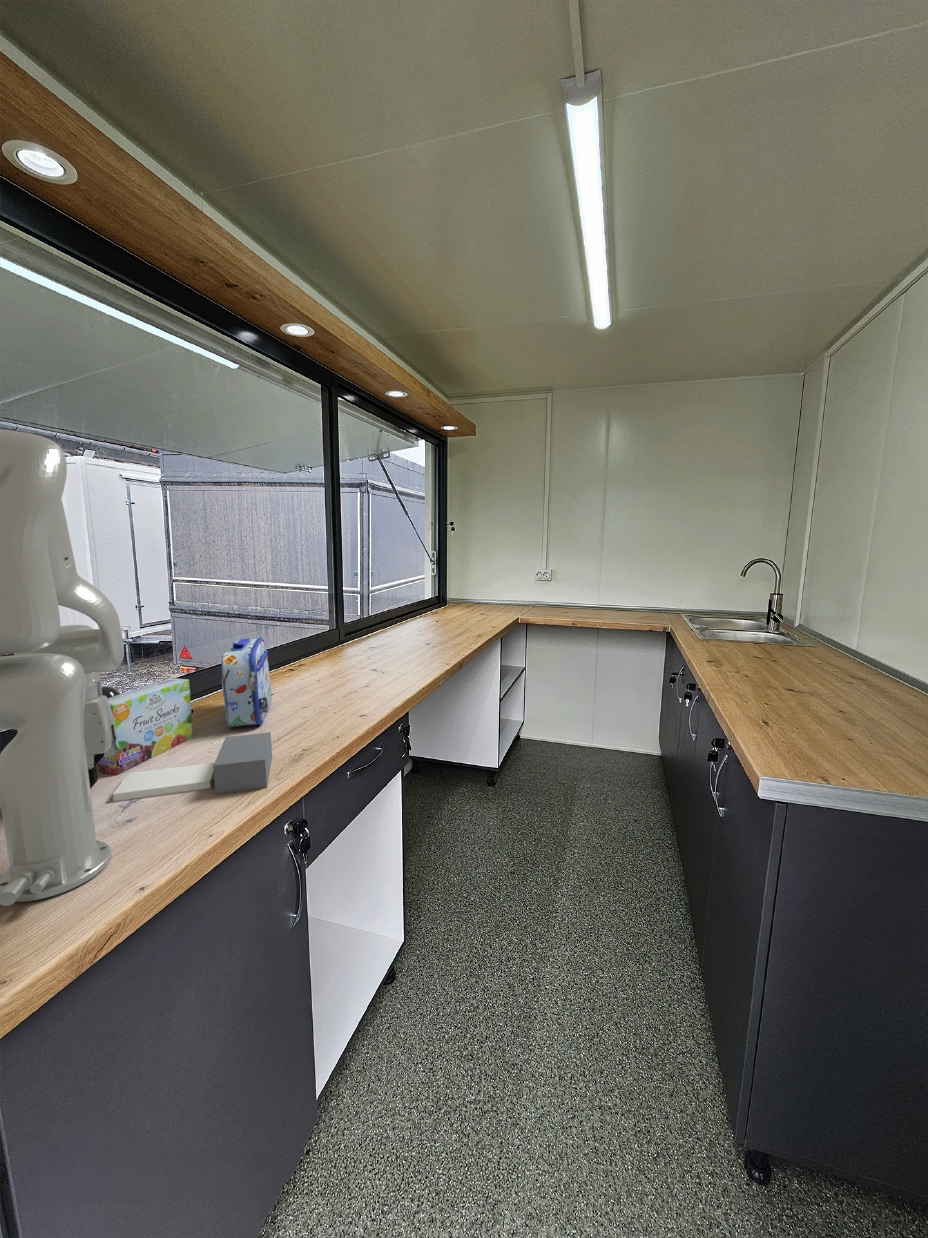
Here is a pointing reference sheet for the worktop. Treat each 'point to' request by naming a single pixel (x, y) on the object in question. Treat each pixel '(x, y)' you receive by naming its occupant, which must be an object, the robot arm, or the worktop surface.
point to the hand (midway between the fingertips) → (87, 786)
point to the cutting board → (165, 781)
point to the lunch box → (246, 682)
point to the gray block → (243, 763)
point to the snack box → (148, 723)
